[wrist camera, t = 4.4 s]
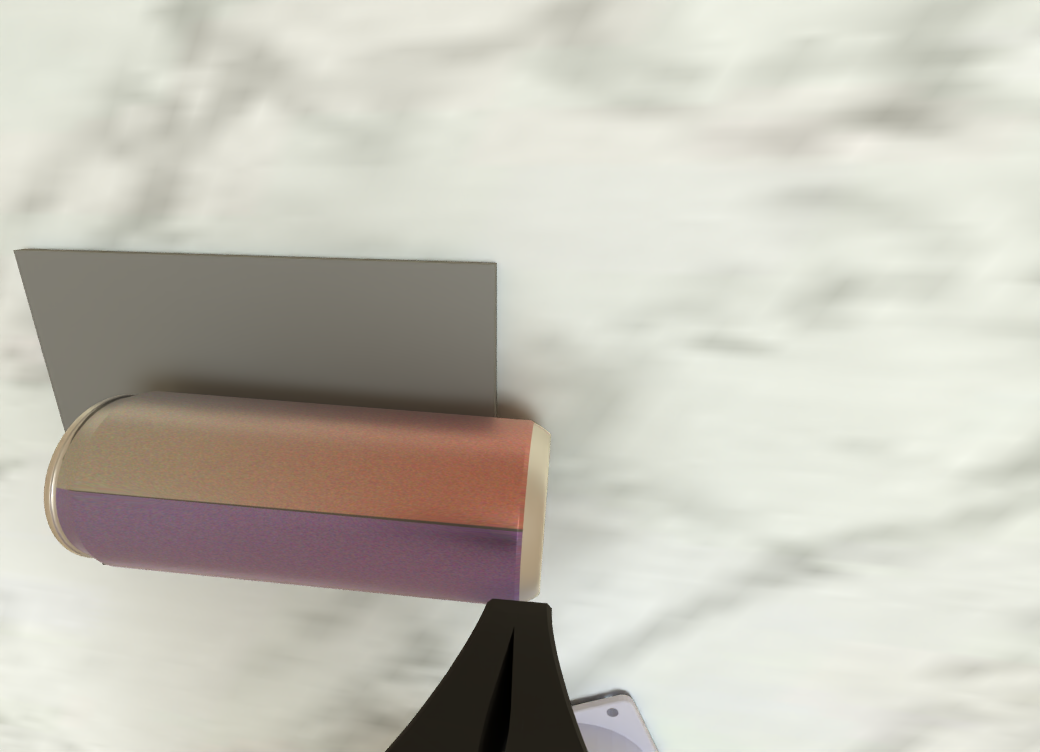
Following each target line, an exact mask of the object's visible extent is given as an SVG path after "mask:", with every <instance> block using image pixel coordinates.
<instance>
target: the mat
mask: <svg viewBox="0 0 1040 752" xmlns="http://www.w3.org/2000/svg"><path fill="white" fill-rule="evenodd" d="M14 254H15V257H16V261H17V264H18V268H19V271H20V275H21V278H22V282H23V285H24V289H25V292H26V296H27V299H28V303H29V307H30V310H31V314H32V317H33V321H34V324H35V328H36V331H37V335H38V338H39V342H40V345H41V349H42V352H43V356H44V359H45V363H46V366H47V370H48V373H49V377H50V381H51V384H52V388H53V391H54V395H55V398H56V402H57V405H58V409H59V412H60V416H61V419H62V423H63V426H64V430H65V432H66V431H67V429H68V428H69V427H70V426H71V425H72V423H73V422H74V421H75V420H76V419H77V418H78V417H79V416H80V415H81V414H82V413H84V412H85V411H86V410H87V409H89V408H90V407H92V406H93V405H95V404H97V403H99V402H100V401H103V400H105V399H107V398H110V397H114V396H118V395H127V394H132V395H138V394H142V393H146V392H152V391H162V392H175V393H188V394H200V395H213V396H226V397H239V398H252V399H265V400H278V401H291V402H303V403H316V404H329V405H342V406H355V407H368V408H381V409H393V410H406V411H419V412H432V413H445V414H458V415H471V416H484V417H496V389H497V263H483V262H449V261H416V260H382V259H349V258H315V257H282V256H248V255H215V254H182V253H148V252H115V251H81V250H48V249H21V250H14ZM102 564H103V565H107V564H104V563H102Z"/></svg>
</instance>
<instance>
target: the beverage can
mask: <svg viewBox="0 0 1040 752" xmlns="http://www.w3.org/2000/svg"><path fill="white" fill-rule="evenodd" d="M550 443H551V434H550V433H549V432H548V431H547V430H545V429H544V428H542V427H541V426H539V425H538V424H536V423H535V422H533V421H531V420H522V419H509V418H496V417H484V416H471V415H458V414H445V413H432V412H419V411H406V410H393V409H381V408H368V407H355V406H342V405H329V404H316V403H303V402H291V401H278V400H265V399H252V398H239V397H226V396H213V395H200V394H188V393H175V392H162V391H152V392H146V393H142V394H138V395H132V394H127V395H118V396H114V397H110V398H107V399H105V400H103V401H100V402H99V403H97V404H95V405H93V406H92V407H90V408H89V409H87V410H86V411H85V412H84V413H82V414H81V415H80V416H79V417H78V418H77V419H76V420H75V421H74V422H73V423H72V425H71V426H70V427H69V428H68V429H67V431H66V432H65V434H64V435H63V437H62V438H61V440H60V442H59V443H58V445H57V447H56V449H55V451H54V453H53V456H52V458H51V461H50V464H49V467H48V470H47V475H46V479H45V486H44V507H45V513H46V518H47V521H48V524H49V527H50V529H51V531H52V533H53V534H54V536H55V537H56V539H57V540H58V541H59V542H60V543H61V544H62V546H64V547H65V548H66V549H67V550H69V551H71V552H72V553H75V554H77V555H80V556H83V557H88V558H95V559H96V560H98V561H100V562H102V563H104V564H107V565H110V566H115V567H125V568H135V569H145V570H155V571H165V572H175V573H185V574H194V575H204V576H214V577H224V578H234V579H244V580H254V581H264V582H274V583H284V584H294V585H304V586H313V587H323V588H333V589H343V590H353V591H363V592H373V593H383V594H393V595H403V596H413V597H423V598H432V599H442V600H452V601H462V602H472V603H482V604H487V602H488V601H490V600H491V599H492V598H494V599H505V600H516V601H526V602H527V601H529V600H532V599H533V598H535V597H537V596H538V595H539V593H540V581H541V567H542V554H543V540H544V526H545V512H546V499H547V485H548V471H549V457H550Z"/></svg>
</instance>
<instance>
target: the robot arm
mask: <svg viewBox="0 0 1040 752" xmlns="http://www.w3.org/2000/svg"><path fill="white" fill-rule="evenodd" d="M610 708H615V709H610ZM385 752H658V750H657V748H656V746H655V744H654V742H653V740H652V738H651V736H650V734H649V732H648V730H647V728H646V726H645V724H644V722H643V720H642V717H641V715H640V713H639V711H638V709H637V707H636V705H635V703H634V701H633V700H632V698H631V697H629V696H627V695H616V696H612V697H608V698H603V699H599V700H595V701H591V702H586V703H582V704H578V705H573V706H571V703H570V700H569V696H568V693H567V690H566V686H565V682H564V679H563V675H562V672H561V668H560V664H559V660H558V656H557V651H556V646H555V641H554V635H553V627H552V608H551V607H550V606H549V605H548V604H547V603H537V602H526V601H516V600H505V599H494V598H492V599H491V600H490V601H488V602H487V604H486V606H485V609H484V611H483V613H482V615H481V617H480V619H479V621H478V623H477V625H476V627H475V628H474V630H473V632H472V634H471V635H470V637H469V639H468V640H467V642H466V644H465V646H464V647H463V649H462V650H461V652H460V653H459V655H458V656H457V658H456V660H455V661H454V663H453V664H452V666H451V667H450V669H449V670H448V672H447V673H446V675H445V676H444V678H443V679H442V681H441V682H440V683H439V685H438V686H437V687H436V689H435V690H434V692H433V693H432V694H431V696H430V697H429V698H428V700H427V701H426V702H425V704H424V705H423V707H422V708H421V709H420V711H419V712H418V713H417V714H416V716H415V717H414V718H413V719H412V721H411V722H410V723H409V724H408V726H407V727H406V728H405V729H404V730H403V732H402V733H401V734H400V735H399V736H398V737H397V739H396V740H395V741H394V742H393V743H392V744H391V746H390V747H389V748H388V749H387V750H386V751H385Z"/></svg>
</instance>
